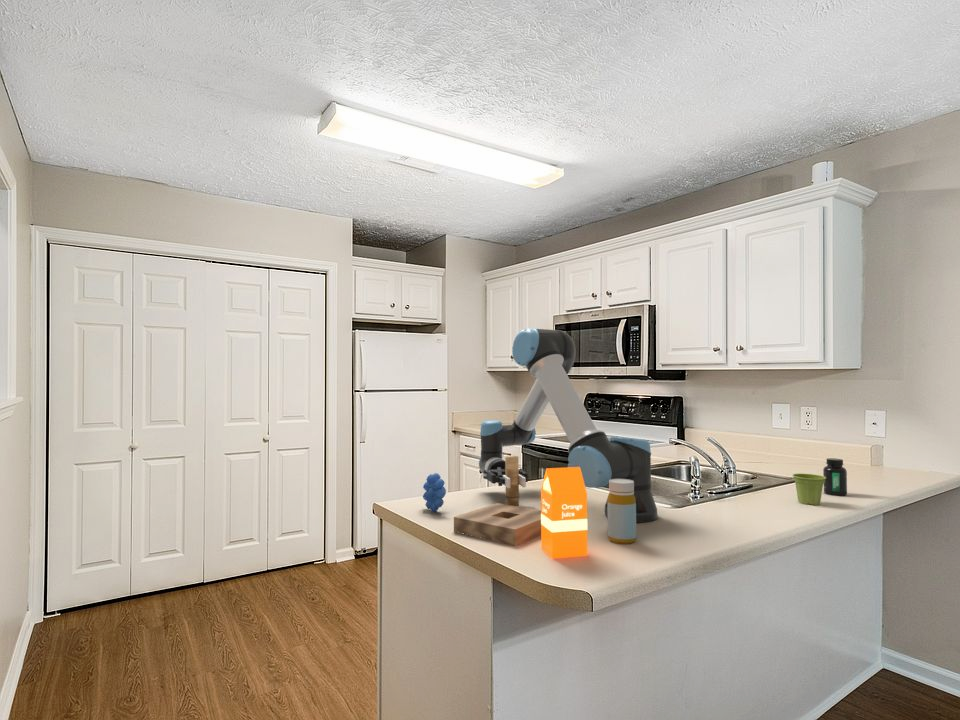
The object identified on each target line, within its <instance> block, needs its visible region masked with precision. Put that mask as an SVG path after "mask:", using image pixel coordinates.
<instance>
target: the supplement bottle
mask: <svg viewBox="0 0 960 720" xmlns="http://www.w3.org/2000/svg"><path fill="white" fill-rule="evenodd" d="M825 464H826V466H824V467H823V473H822V476H824V477H826V479H825V481H824V484H823V493H824V494H825V495H827V496H834V497H846V496H847V495H848V478H847V477H848V472H847V471H848V470H847V469H846V468H845V467H844V460H843V459H842V458H826V462H825Z"/></svg>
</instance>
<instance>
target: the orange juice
mask: <svg viewBox="0 0 960 720" xmlns="http://www.w3.org/2000/svg"><path fill="white" fill-rule="evenodd" d="M540 510H541V535H540V537H541V543H540V544H541V547H540V548H541V550H542V551H543V552H544V553H545V554H547V555H548V557H550V558H551V559H552V560H554V559H565V558H574V557H575V558H576V557H578V558H579V557H588V492H587V489H586V487H585V485H584V481H583V477H582V473H581V469H580V467H568V466H567V467H551V468H547V467H546V468H545V473H544V476H543V480H542V484H541V487H540Z"/></svg>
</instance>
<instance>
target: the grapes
mask: <svg viewBox="0 0 960 720" xmlns="http://www.w3.org/2000/svg"><path fill="white" fill-rule="evenodd" d="M445 484H446V483H445V481H444V480H443V478H441V475H440V474H439V473H437V472H435V473H431V474H429V475H428V476H427V477H426V479H425V482H424V484H423V487H422V488H423V489H424V491H425V492H424V493H423V495H422V498H423V500H425V507H426V508H427V509H429V510H431V511H432V512H434V513H435V512H437V511H438V510H439V508H441V507H442V506H444V503H445V501H444V500H443V499H444V497H445V496H446V493H447V489H446V487H445Z"/></svg>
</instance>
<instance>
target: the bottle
mask: <svg viewBox="0 0 960 720" xmlns="http://www.w3.org/2000/svg"><path fill="white" fill-rule="evenodd" d="M608 488H609V489H608V495H609V496H608V495H607V498H608V501H607V500H606V501H607V512H608V517H607V538H608V540H610V542H612V543H614V544H619V545H631V544H633V543H635V542H636V541H637V522H636V499H635V496H634V481H633V480H629V479H611V480H609V485H608Z"/></svg>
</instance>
